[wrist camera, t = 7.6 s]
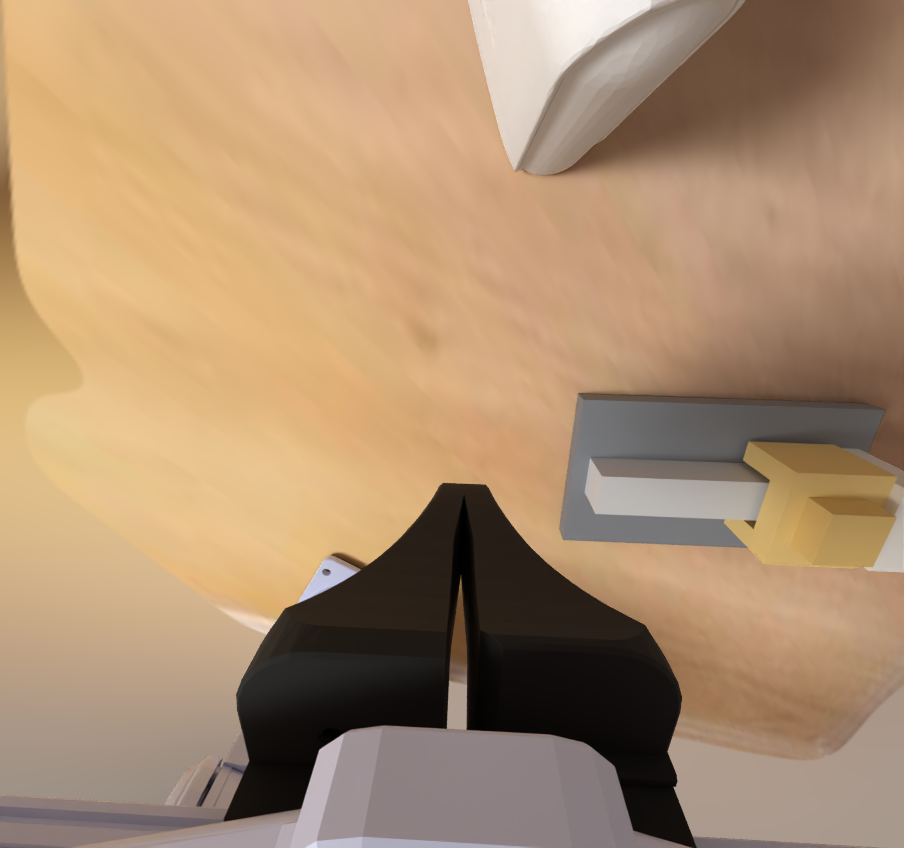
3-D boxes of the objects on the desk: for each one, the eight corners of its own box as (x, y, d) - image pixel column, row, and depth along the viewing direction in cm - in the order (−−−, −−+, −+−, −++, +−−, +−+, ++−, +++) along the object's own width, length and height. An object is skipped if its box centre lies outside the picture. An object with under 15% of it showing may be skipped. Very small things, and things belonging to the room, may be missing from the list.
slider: (723, 522, 22) (784, 585, 18) (748, 441, 20) (821, 488, 16) (802, 526, 22) (882, 589, 18) (834, 444, 20) (930, 493, 16)
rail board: (559, 529, 24) (581, 594, 19) (578, 393, 21) (609, 431, 16) (812, 539, 24) (896, 608, 19) (866, 403, 21) (982, 445, 16)
